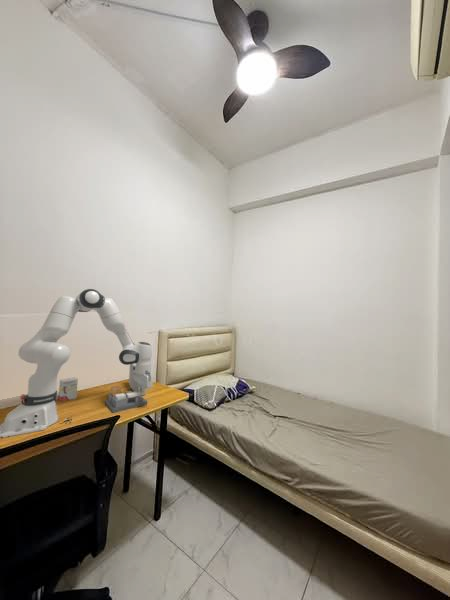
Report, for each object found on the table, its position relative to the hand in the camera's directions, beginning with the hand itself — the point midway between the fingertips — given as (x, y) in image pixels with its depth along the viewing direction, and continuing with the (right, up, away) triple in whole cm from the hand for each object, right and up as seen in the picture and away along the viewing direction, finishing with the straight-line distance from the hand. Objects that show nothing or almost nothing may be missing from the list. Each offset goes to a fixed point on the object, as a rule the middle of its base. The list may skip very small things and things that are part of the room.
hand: (142, 391), depth 143 cm
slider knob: (-9, -4, +2) cm, 10 cm away
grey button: (-9, -3, -9) cm, 14 cm away
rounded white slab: (-10, -7, +21) cm, 24 cm away
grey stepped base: (-8, -6, -4) cm, 11 cm away
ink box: (-46, -5, +1) cm, 46 cm away
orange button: (-14, -1, -4) cm, 15 cm away
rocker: (-3, 0, -3) cm, 4 cm away
